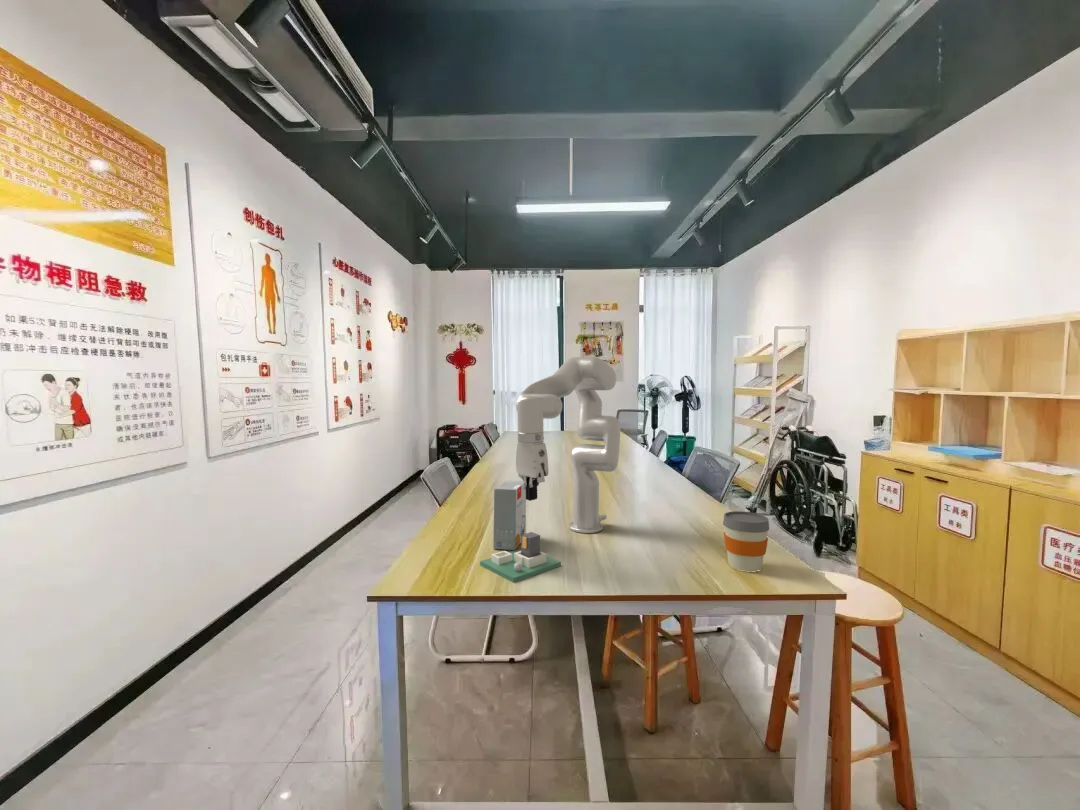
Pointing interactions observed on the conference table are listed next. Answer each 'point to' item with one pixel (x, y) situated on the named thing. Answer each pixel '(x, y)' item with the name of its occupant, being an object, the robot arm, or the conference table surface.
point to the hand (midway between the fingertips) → (531, 499)
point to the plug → (530, 544)
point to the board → (525, 571)
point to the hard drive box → (509, 514)
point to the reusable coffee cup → (745, 539)
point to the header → (529, 559)
